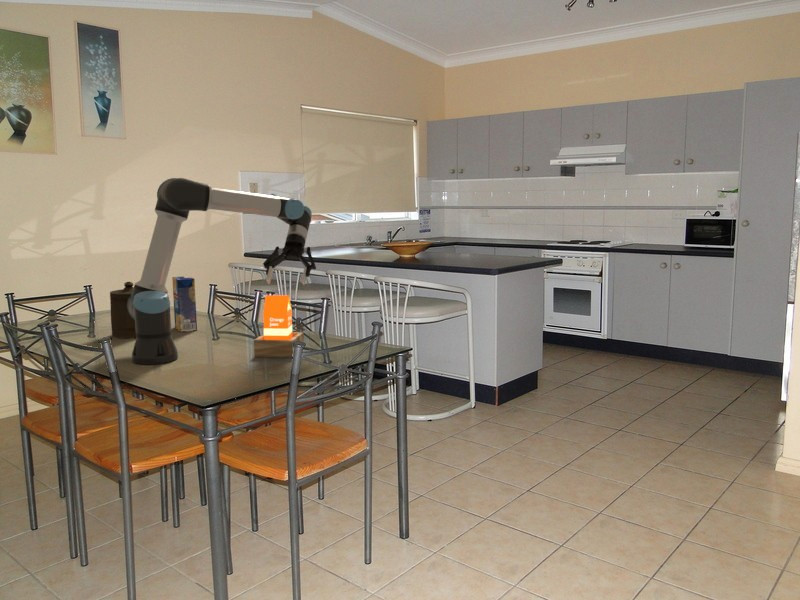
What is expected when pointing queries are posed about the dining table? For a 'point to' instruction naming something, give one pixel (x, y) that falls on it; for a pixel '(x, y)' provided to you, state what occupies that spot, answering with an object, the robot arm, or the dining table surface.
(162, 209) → the robot arm
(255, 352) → the box
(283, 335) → the orange juice
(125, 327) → the wooden container
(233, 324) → the dining table surface
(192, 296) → the beverage box
